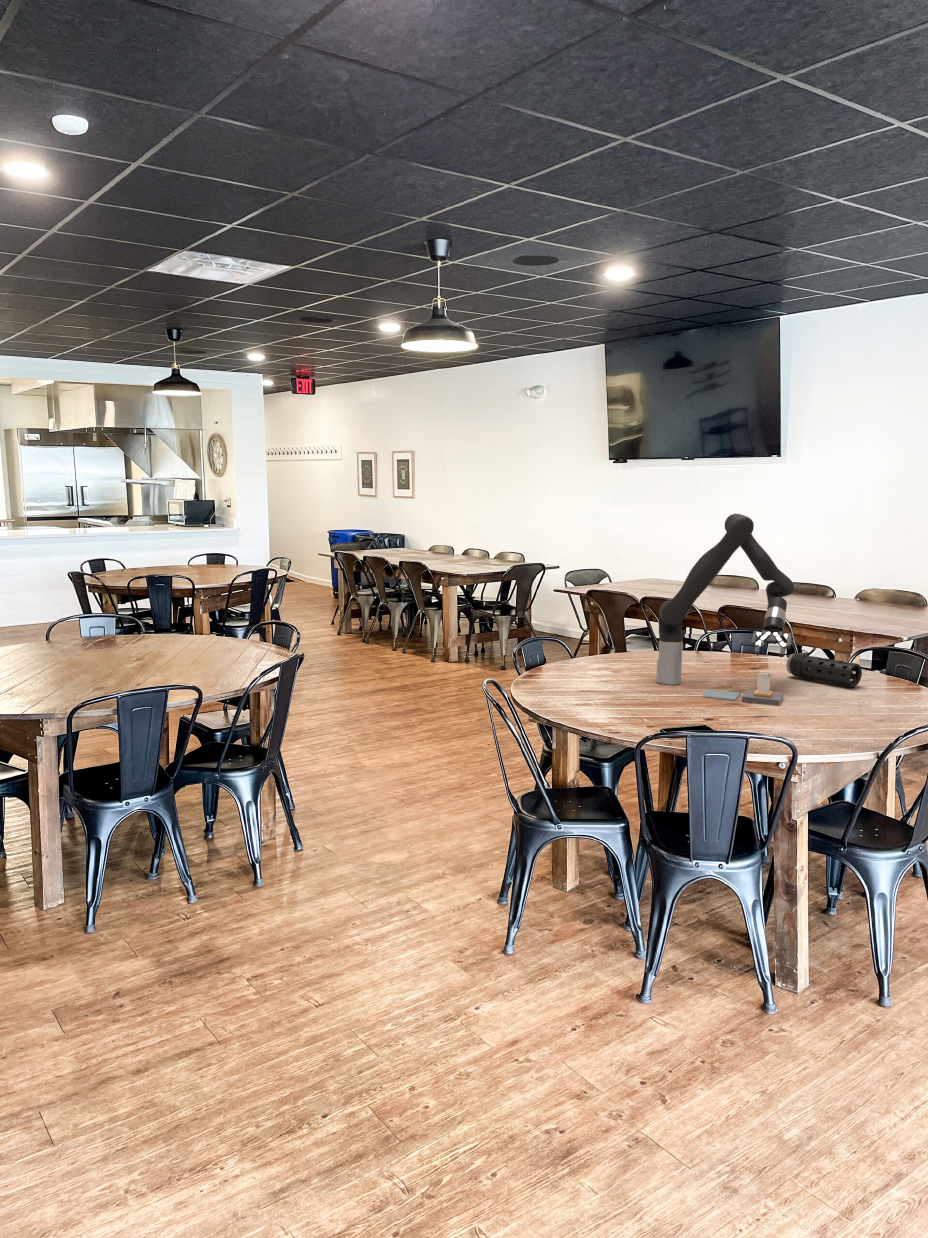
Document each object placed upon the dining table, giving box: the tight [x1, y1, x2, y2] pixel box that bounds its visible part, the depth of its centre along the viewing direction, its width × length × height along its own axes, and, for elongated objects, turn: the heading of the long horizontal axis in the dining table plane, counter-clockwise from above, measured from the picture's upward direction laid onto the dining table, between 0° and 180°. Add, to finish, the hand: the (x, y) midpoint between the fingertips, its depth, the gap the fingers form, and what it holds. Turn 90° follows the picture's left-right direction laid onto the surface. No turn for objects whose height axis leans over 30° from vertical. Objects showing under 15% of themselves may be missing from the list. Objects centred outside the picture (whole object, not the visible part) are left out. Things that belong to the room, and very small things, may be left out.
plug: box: [754, 671, 774, 697], centre depth 320 cm, size 6×6×10 cm
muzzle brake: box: [785, 652, 863, 689], centre depth 350 cm, size 10×28×10 cm, turn 36°
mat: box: [701, 688, 741, 702], centre depth 328 cm, size 12×12×1 cm
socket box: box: [741, 689, 785, 707], centre depth 321 cm, size 13×13×2 cm
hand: (769, 655), depth 329 cm, fingers open, 8 cm apart
